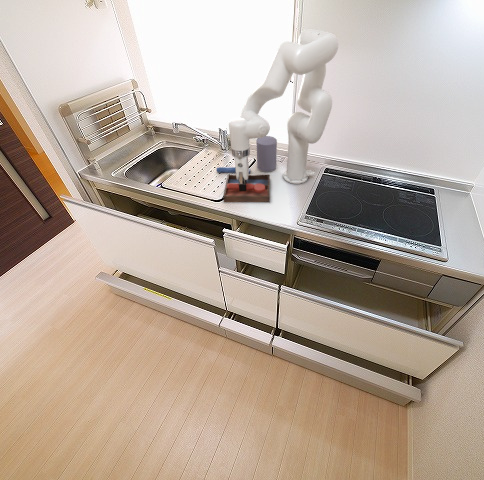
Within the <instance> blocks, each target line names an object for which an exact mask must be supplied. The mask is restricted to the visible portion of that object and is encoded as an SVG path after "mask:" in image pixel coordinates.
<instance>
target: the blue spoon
mask: <svg viewBox="0 0 484 480" xmlns="http://www.w3.org/2000/svg"><path fill="white" fill-rule="evenodd" d="M216 172H217V173H218V174H236V169H235V166H234V167H233V166H232V167H231V166H230V167H229V166H218V167H216ZM249 175H251V168H249Z"/></svg>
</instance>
